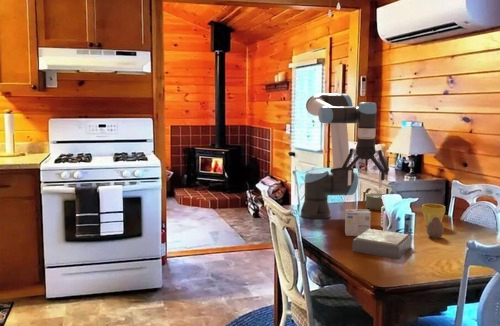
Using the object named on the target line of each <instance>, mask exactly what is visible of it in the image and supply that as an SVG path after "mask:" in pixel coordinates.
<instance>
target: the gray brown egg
mask: <svg viewBox="0 0 500 326" xmlns="http://www.w3.org/2000/svg"><path fill="white" fill-rule="evenodd" d="M444 230H445V228H444V224H443V223H442V222H441V221H440V220H439V218H438V217H433V218H432V220H431V221H430V222H429V223H428V225H427V226H426V233H427V235H428V237H429V238H431V239H441V238H442V237H443V234H444Z"/></svg>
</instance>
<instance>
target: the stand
mask: <svg viewBox="0 0 500 326" xmlns="http://www.w3.org/2000/svg"><path fill="white" fill-rule="evenodd" d="M411 247H412V235H409V234H407V233H403V232H402V233H401V232H395V231H386V230H381V229H375V228H373V229H372V228H370V229H368V230H367V231H365V232H364V233H362V234H361V235H359V236H355V238H353V239H352V252H355V253H360V254H361V253H362V254H366V255H372V256H378V257H384V258H390V259H396V260H399V259H401V257H403V256H404V255H405V254H406V253H407V252H408V251H409V250H410V249H411Z"/></svg>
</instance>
